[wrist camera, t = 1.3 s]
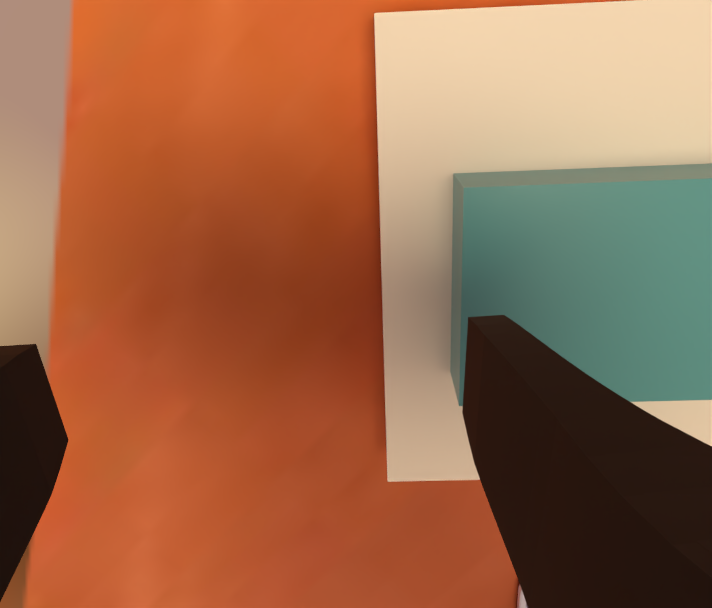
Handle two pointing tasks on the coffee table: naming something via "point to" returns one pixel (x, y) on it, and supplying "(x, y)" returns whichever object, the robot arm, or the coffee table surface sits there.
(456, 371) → the teal rectangular block
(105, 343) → the coffee table surface
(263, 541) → the coffee table surface
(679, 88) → the cream flat square slab
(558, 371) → the robot arm
